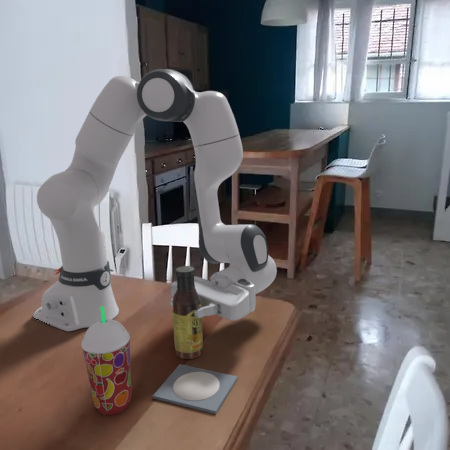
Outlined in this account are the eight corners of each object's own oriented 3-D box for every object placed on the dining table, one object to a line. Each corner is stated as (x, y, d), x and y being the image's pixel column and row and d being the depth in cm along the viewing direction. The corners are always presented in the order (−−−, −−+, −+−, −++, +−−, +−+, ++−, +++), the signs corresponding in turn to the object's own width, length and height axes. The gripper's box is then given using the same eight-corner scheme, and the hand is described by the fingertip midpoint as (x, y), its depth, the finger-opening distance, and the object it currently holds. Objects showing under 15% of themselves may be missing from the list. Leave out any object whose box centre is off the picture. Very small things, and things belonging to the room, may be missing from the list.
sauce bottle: (199, 362, 95) (194, 276, 90) (171, 359, 96) (165, 274, 91) (206, 346, 101) (202, 264, 96) (180, 344, 102) (175, 263, 97)
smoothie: (95, 392, 86) (83, 298, 81) (138, 389, 87) (129, 295, 81) (85, 422, 78) (71, 319, 73) (133, 418, 79) (123, 316, 73)
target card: (153, 398, 84) (152, 395, 84) (180, 366, 94) (179, 363, 94) (216, 414, 79) (216, 410, 79) (237, 379, 89) (237, 376, 89)
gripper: (195, 266, 111) (151, 283, 101) (260, 286, 98) (217, 308, 88) (196, 289, 113) (153, 308, 103) (260, 312, 99) (218, 337, 90)
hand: (183, 309), depth 95 cm, fingers closed on sauce bottle, 6 cm apart
